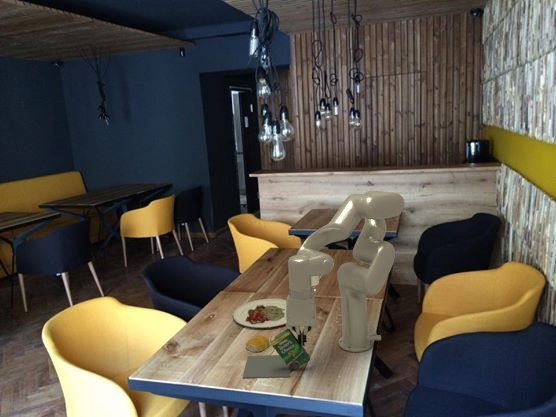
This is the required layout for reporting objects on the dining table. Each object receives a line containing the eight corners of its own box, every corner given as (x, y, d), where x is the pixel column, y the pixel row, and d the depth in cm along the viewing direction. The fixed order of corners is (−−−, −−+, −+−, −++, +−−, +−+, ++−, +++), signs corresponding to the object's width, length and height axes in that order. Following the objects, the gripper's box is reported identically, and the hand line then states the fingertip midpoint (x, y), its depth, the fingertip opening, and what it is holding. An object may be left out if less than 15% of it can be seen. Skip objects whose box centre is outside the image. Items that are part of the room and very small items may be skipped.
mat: (291, 355, 161) (291, 354, 161) (290, 377, 147) (290, 376, 147) (247, 356, 162) (247, 355, 162) (242, 378, 149) (242, 377, 148)
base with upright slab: (319, 279, 237) (318, 258, 235) (319, 285, 228) (317, 263, 226) (302, 280, 238) (301, 258, 236) (301, 286, 229) (300, 264, 227)
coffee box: (290, 372, 151) (269, 343, 149) (290, 367, 154) (269, 338, 151) (310, 360, 150) (289, 331, 147) (310, 356, 152) (289, 326, 150)
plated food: (306, 303, 207) (306, 297, 207) (291, 333, 179) (291, 325, 178) (246, 300, 216) (246, 294, 215) (222, 328, 187) (222, 321, 187)
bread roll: (273, 344, 171) (272, 334, 170) (259, 354, 164) (258, 344, 163) (256, 339, 176) (256, 330, 175) (242, 349, 169) (241, 339, 168)
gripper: (322, 288, 150) (323, 338, 153) (278, 289, 151) (280, 339, 154) (323, 296, 142) (325, 349, 145) (277, 297, 143) (279, 349, 146)
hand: (302, 344), depth 150 cm, fingers closed
